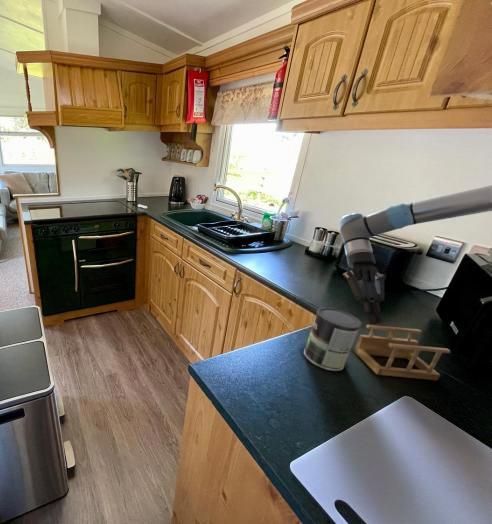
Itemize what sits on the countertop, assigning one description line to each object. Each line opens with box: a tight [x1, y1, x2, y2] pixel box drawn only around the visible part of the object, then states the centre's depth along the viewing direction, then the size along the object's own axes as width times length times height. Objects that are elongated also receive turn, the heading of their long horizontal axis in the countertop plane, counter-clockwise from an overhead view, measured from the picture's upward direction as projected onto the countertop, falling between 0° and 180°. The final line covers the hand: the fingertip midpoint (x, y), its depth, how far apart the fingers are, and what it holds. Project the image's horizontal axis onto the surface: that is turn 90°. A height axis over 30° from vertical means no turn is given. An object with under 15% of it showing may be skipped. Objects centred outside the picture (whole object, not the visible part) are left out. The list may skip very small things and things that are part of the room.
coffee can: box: [303, 306, 362, 372], centre depth 81 cm, size 10×10×14 cm
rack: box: [353, 324, 451, 381], centre depth 81 cm, size 10×16×10 cm, turn 86°
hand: (375, 322), depth 90 cm, fingers closed
